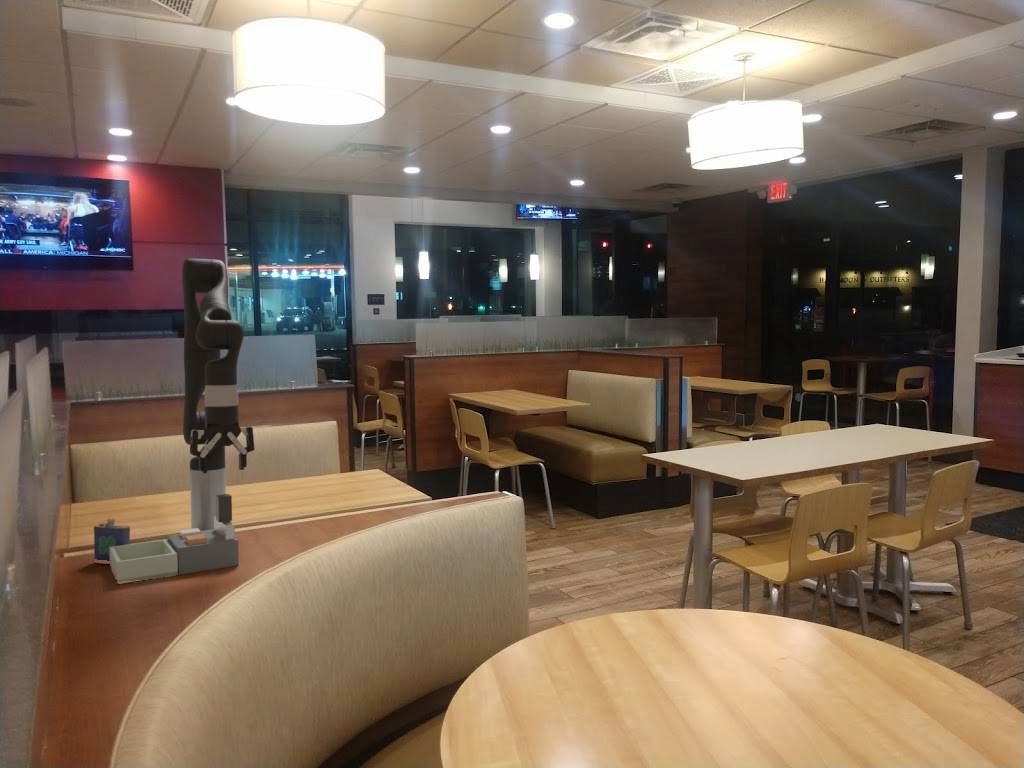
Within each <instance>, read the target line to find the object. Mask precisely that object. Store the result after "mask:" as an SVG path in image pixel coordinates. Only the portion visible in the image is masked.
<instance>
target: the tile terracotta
mask: <svg viewBox="0 0 1024 768" xmlns="http://www.w3.org/2000/svg"><path fill="white" fill-rule="evenodd" d="M185 541H186V543H187V544H188V545H194V544H201V543H207V537H206V536H205V535H204V534H199V535H192V536H185Z"/></svg>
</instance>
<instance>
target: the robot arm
mask: <svg viewBox="0 0 1024 768" xmlns="http://www.w3.org/2000/svg"><path fill="white" fill-rule="evenodd" d="M181 270H182V271H181V272H182V273H181V277H182V280H181V281H182V295H183V297H182V298H183V311H184V331H183V332H184V335H183V337H184V338H183V340H184V341H183V367H184V368H183V370H184V405H183V417H182V419H183V422H182V434H183V439H184V442H185V443H186V444H187V445H189V454H190V455H192V456H195V457H193V458H191V459H190V461H189V481H190V483H189V484H190V485H189V486H190V487H189V488H190V525H191V527H190V529H194V528H198V529H199V530H200V531H205V530H213V529H214V516H216V495H222V494H227V481H226V480H227V479H226V447H230V446H233V447H234V448H235V449H236V450H237V451H238V452H239V453H238V469H239V470H240V471H244V470H245V468H247V465H248V463H247V460H248V459H247V454H248V453H251V452H253V451H254V450H255V439H254V428H253V426H249V425H247V426H245V427H241V426H240V421H239V420H240V417H239V416H240V412H239V402H240V399H239V391H238V382H237V381H238V380H237V379H238V377H237V376H238V375H237V374H238V373H237V369H238V360H239V355H240V351H241V349H242V344H243V341H244V337H245V331H244V327H243V325H242V324H241V323H240V322H239V321H237V320H235V319H234V320H233V317H232V313H231V309H230V305H229V275H228V269H227V266H226V264H225V263H224V262H223V261H222V260H219V259H215V258H214V259H212V258H210V259H208V258H185V259H184V261H183V264H182V269H181ZM197 294H205V295H203V297H202V298H201V300H200V302H199V303H198V300H197ZM221 350H223V351H224V350H225V351H226V350H227V353H226V355H225V356H223V357H221ZM203 394H204V410H203V411H197V410H198V406H199V402H200V400H201V398H202V396H203ZM241 433H242V435H243V436H245V443H246V446H245V447H244V446H243V444H242V443H241V441H239V440H238V437H239V436H240V435H241ZM199 445H203V446H202V447H201V449H200V450H199V447H198V446H199Z"/></svg>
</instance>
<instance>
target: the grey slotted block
mask: <svg viewBox="0 0 1024 768" xmlns="http://www.w3.org/2000/svg"><path fill="white" fill-rule="evenodd" d="M201 534H204V535H205V536H206V537H207V543H201V544H194V545H188V544H187V543H186V541H185V539H183V538H182V537H181V536H180V533H175V534H169V535H166V536H167V541H168V543H169V544H170V545H171V546H172V548H173V549H174V550H175V551H176V552H177V559H178V576H179V575H186V574H192V573H198V572H205V571H211V570H217V569H218V570H219V569H223V568H230V567H235V566H239V562H240V560H239V539H238V538H237V537H235V539H234V540H225V539H224V538H223V537H221V536H220V535H219V534H218V533H217V532H216V531H215V530H214V529H213V530H205V531H201Z"/></svg>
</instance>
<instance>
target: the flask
mask: <svg viewBox="0 0 1024 768" xmlns="http://www.w3.org/2000/svg"><path fill="white" fill-rule="evenodd" d="M115 522H116V518H106V523H105V522H102V523H99V524H95V525H94V527H93V531H94V532H93V539H94V547H93V550H94V551H93V552H94V554H93V555H94V560H95V559H97V560H107V561H110V550H109V547H112V546H119V545H127V544H131V535H130V534H131V529H130V528H131V527H130V525H115Z"/></svg>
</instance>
